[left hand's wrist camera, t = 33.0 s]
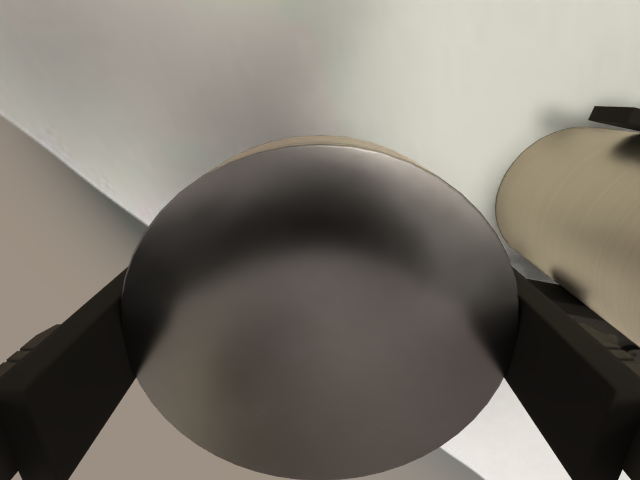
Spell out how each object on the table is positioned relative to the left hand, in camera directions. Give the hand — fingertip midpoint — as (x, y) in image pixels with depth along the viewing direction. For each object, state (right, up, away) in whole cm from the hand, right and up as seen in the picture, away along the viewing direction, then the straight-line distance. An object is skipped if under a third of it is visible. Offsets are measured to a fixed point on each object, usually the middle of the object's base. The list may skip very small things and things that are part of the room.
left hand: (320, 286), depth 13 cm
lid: (0, -1, -3) cm, 3 cm away
